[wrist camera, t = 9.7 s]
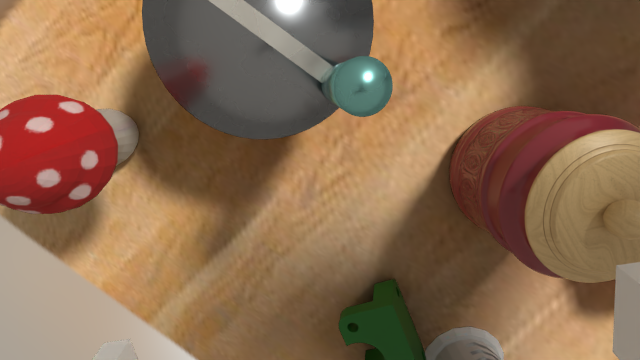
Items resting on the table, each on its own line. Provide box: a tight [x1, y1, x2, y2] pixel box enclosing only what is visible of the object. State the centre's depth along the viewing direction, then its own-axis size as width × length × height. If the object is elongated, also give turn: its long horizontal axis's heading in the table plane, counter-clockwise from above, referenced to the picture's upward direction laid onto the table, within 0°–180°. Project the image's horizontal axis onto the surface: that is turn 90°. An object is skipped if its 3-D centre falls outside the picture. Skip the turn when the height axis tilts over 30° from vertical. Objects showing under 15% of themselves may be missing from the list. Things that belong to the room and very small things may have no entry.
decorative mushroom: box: [0, 95, 139, 214], centre depth 34 cm, size 10×9×15 cm
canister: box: [449, 106, 640, 283], centre depth 35 cm, size 13×13×18 cm
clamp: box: [339, 279, 426, 360], centre depth 44 cm, size 12×6×9 cm, turn 16°
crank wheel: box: [142, 0, 393, 139], centre depth 28 cm, size 16×16×18 cm
